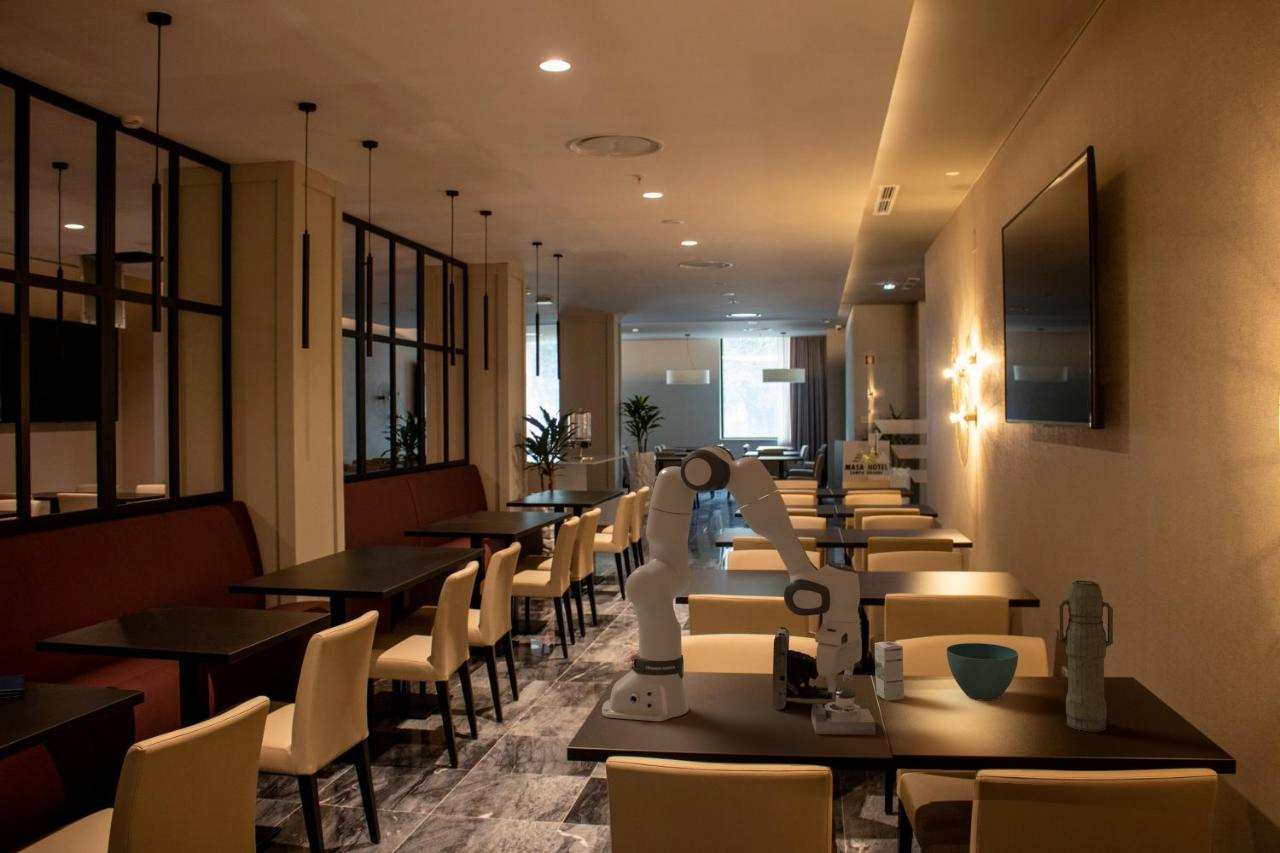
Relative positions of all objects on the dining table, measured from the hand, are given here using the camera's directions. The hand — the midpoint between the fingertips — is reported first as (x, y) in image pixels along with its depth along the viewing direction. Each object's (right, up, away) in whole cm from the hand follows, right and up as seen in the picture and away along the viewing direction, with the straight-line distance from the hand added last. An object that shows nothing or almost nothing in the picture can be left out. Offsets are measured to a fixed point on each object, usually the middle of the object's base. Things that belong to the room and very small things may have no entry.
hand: (840, 686), depth 231 cm
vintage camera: (-6, -10, +17) cm, 21 cm away
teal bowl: (+43, -9, +24) cm, 50 cm away
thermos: (+60, -9, -1) cm, 60 cm away
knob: (+1, -7, -1) cm, 7 cm away
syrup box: (+18, -10, +24) cm, 31 cm away
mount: (+1, -10, 0) cm, 10 cm away
